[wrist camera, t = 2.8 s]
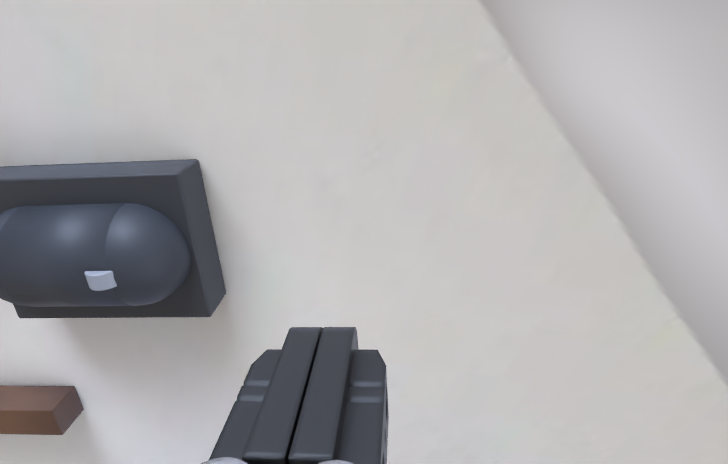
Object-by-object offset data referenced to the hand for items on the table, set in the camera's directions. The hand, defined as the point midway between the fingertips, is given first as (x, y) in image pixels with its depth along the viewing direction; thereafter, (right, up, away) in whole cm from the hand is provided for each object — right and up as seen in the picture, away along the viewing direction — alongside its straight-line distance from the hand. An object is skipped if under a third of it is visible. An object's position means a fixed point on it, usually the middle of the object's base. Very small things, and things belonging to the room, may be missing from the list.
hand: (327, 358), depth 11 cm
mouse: (-9, +3, +8) cm, 12 cm away
